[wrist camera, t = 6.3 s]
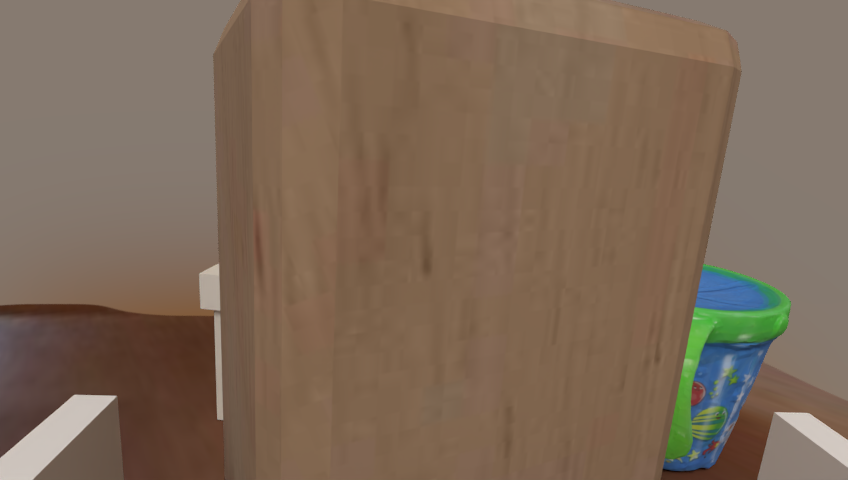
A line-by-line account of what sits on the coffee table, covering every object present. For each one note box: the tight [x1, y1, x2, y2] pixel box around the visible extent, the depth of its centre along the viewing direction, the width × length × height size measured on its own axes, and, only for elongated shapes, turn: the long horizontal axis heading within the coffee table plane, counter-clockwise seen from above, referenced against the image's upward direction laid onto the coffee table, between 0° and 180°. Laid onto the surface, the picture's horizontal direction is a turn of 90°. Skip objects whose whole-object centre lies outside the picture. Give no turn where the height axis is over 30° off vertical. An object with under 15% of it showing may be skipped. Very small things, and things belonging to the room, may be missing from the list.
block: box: [213, 0, 742, 480], centre depth 14 cm, size 10×10×20 cm
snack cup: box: [663, 264, 791, 471], centre depth 29 cm, size 16×10×10 cm
